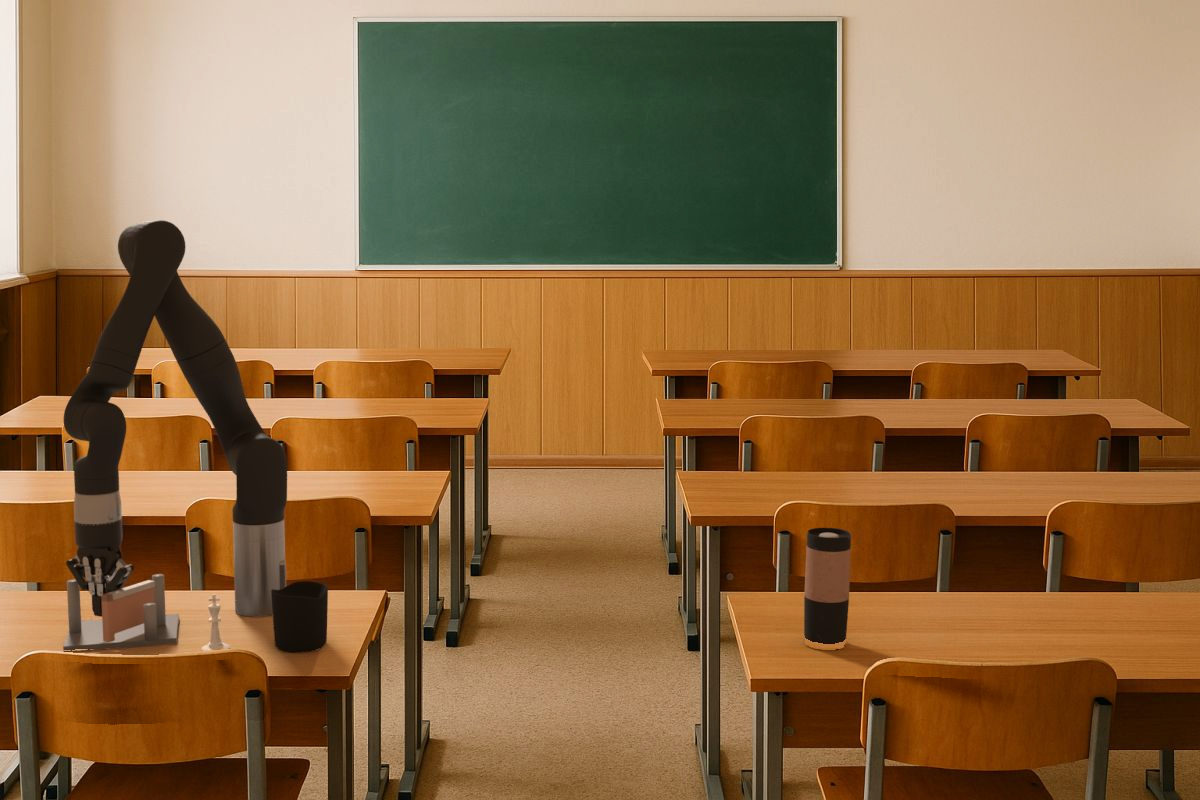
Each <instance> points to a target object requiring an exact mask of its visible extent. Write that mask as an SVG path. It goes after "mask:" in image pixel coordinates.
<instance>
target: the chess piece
mask: <svg viewBox="0 0 1200 800" xmlns="http://www.w3.org/2000/svg"><path fill="white" fill-rule="evenodd" d="M211 595H212V597H208V601H209V602H212V603H211V604H209V605H208V606H207V608H208V611H209V614H210V617H209V618H208V620H207V621H208V622H209V623H211V630H210V631H211V632H210V641H209V642H208V643H207V644H205V645H203V646H202V647H201V648H200V652H201V651H211V650H221V649H231V646H230V644H229V643H225V642H223V640H221V636H220V635H221V634H220V628H219V622H221V621H222V617H219V614H220V610H221V604H219V603H217V602H219V601H220V600H221V599H220V597H216V595H217V594H216V593H213V594H211Z"/></svg>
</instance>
